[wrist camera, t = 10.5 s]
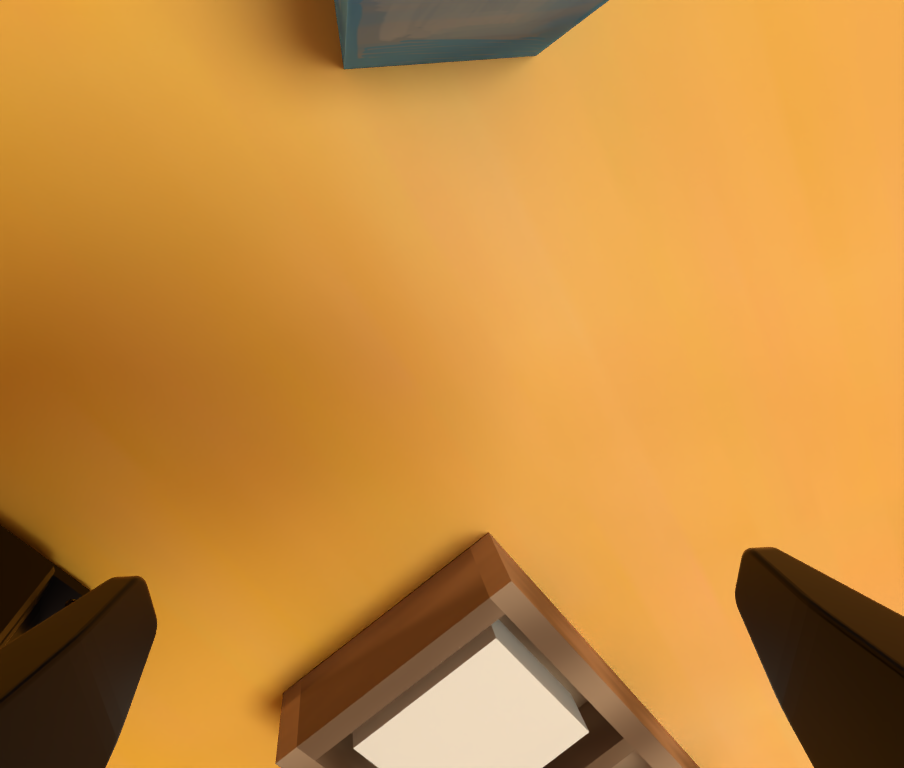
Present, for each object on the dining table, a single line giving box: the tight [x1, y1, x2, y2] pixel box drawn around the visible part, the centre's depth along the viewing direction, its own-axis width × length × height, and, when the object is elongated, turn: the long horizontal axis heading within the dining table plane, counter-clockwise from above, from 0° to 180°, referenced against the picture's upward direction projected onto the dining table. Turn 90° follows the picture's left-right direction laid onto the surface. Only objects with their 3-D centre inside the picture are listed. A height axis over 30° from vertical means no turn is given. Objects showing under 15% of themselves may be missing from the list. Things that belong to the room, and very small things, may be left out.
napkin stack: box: [353, 619, 589, 768], centre depth 24 cm, size 7×7×2 cm
